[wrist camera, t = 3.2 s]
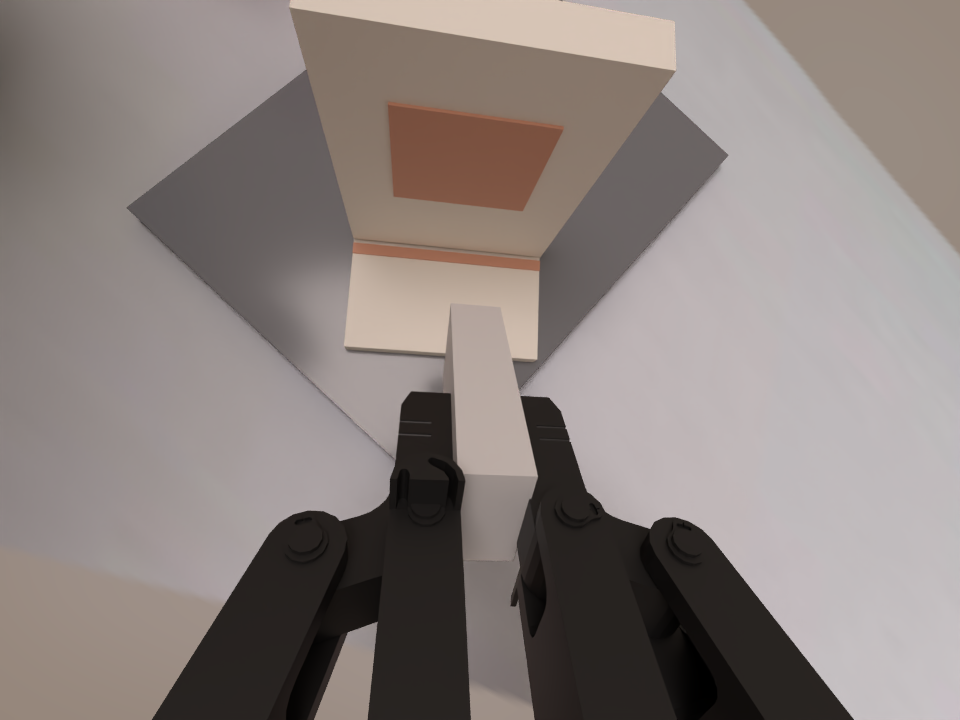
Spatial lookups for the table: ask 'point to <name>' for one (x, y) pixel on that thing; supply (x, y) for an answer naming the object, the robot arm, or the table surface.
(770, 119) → the table surface
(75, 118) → the table surface
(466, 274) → the base
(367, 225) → the cream flat block
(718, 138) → the table surface
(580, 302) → the slate board
